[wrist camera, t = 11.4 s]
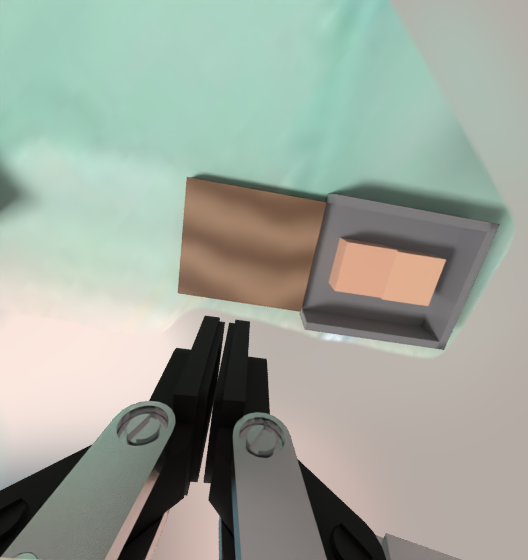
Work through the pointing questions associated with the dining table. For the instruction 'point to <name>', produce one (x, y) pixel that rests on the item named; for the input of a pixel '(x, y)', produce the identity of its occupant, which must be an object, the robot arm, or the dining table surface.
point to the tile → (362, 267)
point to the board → (247, 244)
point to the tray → (403, 235)
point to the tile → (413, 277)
